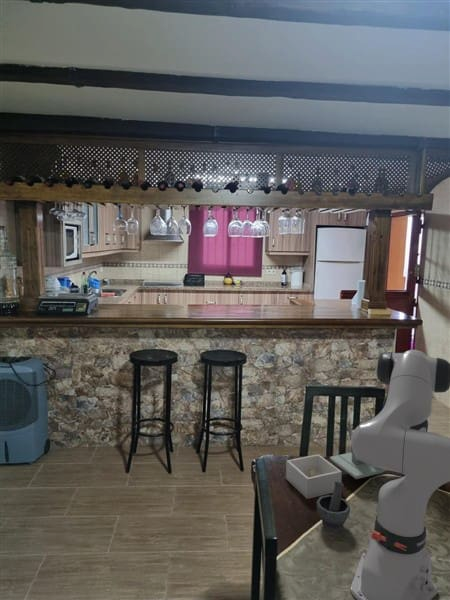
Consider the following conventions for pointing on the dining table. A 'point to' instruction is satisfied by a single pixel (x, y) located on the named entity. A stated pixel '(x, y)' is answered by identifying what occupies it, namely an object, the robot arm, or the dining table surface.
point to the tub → (312, 475)
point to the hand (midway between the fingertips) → (357, 446)
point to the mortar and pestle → (333, 509)
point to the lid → (355, 466)
